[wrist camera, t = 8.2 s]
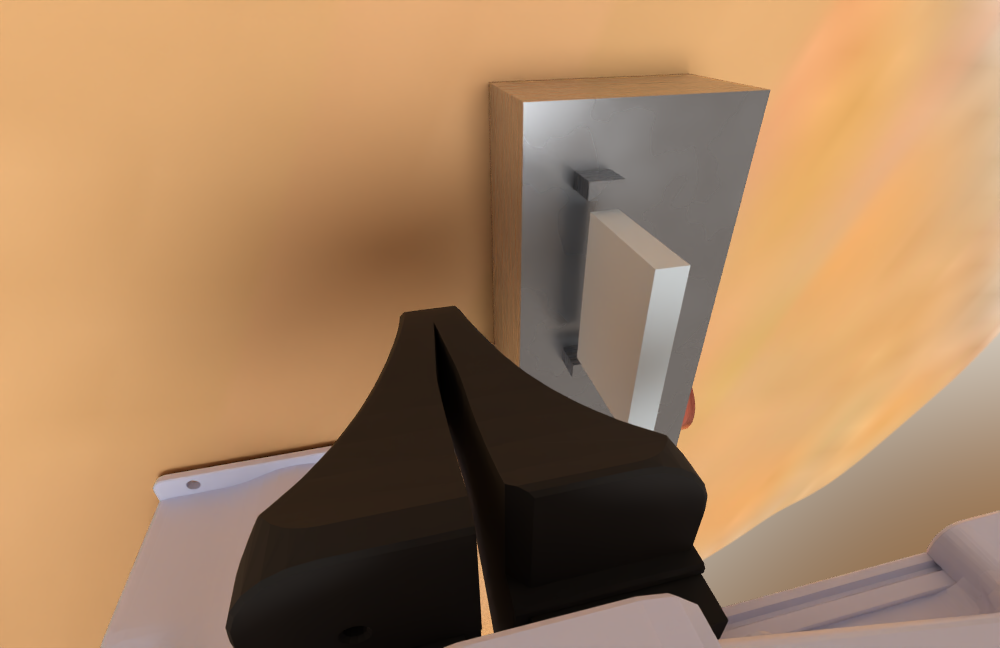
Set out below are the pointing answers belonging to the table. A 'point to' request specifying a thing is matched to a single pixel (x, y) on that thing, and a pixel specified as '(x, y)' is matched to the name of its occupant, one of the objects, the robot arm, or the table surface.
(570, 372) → the block
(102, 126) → the table surface
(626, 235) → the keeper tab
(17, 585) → the table surface
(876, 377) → the table surface
